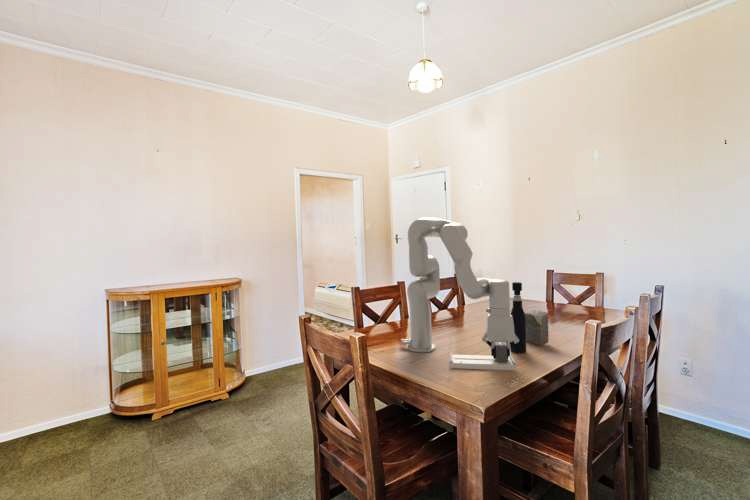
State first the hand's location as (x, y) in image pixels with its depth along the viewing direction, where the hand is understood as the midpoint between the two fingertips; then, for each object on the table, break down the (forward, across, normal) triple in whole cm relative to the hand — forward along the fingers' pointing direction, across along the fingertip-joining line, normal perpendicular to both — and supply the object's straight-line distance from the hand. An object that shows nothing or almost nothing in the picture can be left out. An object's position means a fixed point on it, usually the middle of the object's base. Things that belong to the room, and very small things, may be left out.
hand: (500, 357), depth 141 cm
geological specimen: (+3, +20, +32) cm, 38 cm away
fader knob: (+1, 0, 0) cm, 1 cm away
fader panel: (+3, -7, 0) cm, 8 cm away
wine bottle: (+3, +10, +18) cm, 21 cm away
